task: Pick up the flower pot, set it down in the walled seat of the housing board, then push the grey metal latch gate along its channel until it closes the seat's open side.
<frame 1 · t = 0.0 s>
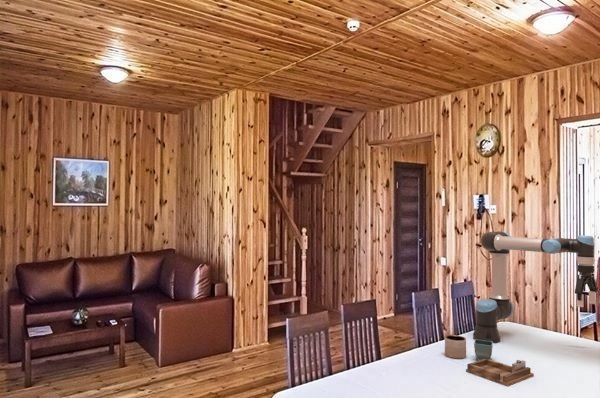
hand: (586, 305, 232), 28 cm above the table, fingers open, 13 cm apart
planter: (455, 356, 234), on the table
flower pot: (483, 360, 228), on the table
housing: (499, 373, 208), on the table
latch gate: (518, 367, 205), point 4 cm above the table, slide at 8.5 cm
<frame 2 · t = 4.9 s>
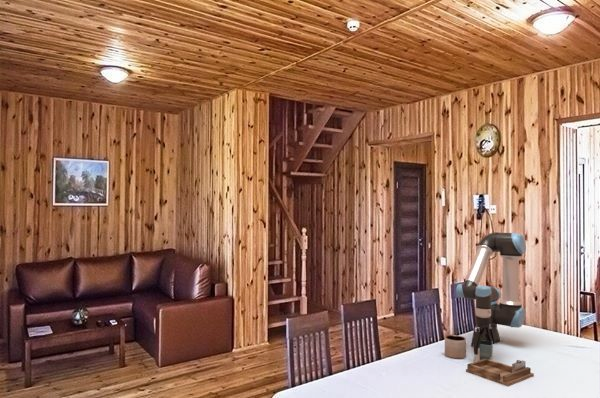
hand: (483, 358, 228), 1 cm above the table, fingers closed on flower pot, 11 cm apart
flower pot: (483, 360, 228), on the table, touching gripper
everything else where it was.
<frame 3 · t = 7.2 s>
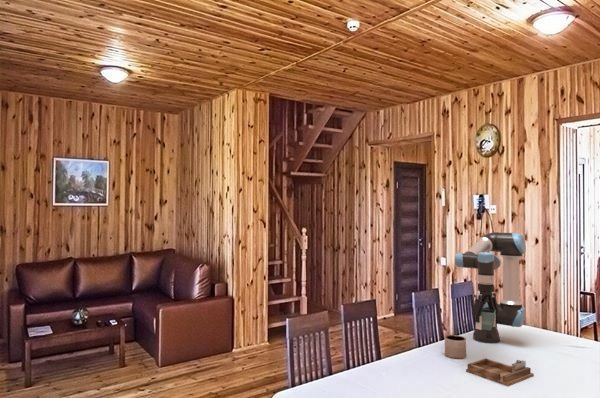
hand: (485, 327, 219), 19 cm above the table, fingers closed on flower pot, 11 cm apart
flower pot: (485, 329, 219), point 18 cm above the table, touching gripper
everything else where it was.
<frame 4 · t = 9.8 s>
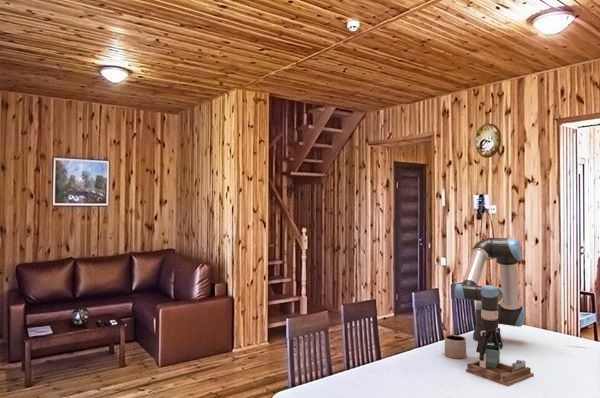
hand: (489, 364, 209), 4 cm above the table, fingers closed on flower pot, 11 cm apart
flower pot: (489, 366, 209), point 3 cm above the table, touching gripper
everything else where it was.
when the fingers open (4 cm above the table, at t = 9.9 s): flower pot drops 2 cm, resting on housing.
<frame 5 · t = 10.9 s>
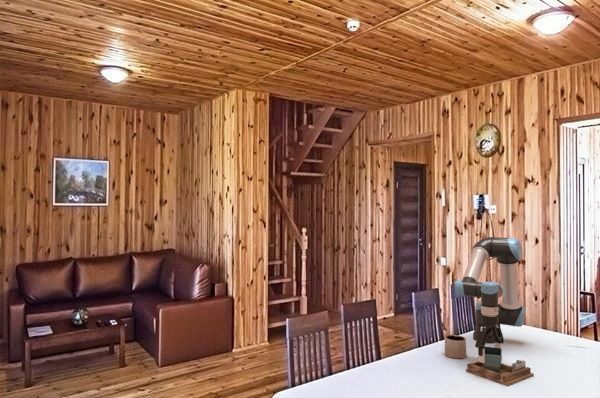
hand: (490, 359, 209), 6 cm above the table, fingers open, 13 cm apart
flower pot: (492, 369, 210), point 2 cm above the table, touching housing
everything else where it was.
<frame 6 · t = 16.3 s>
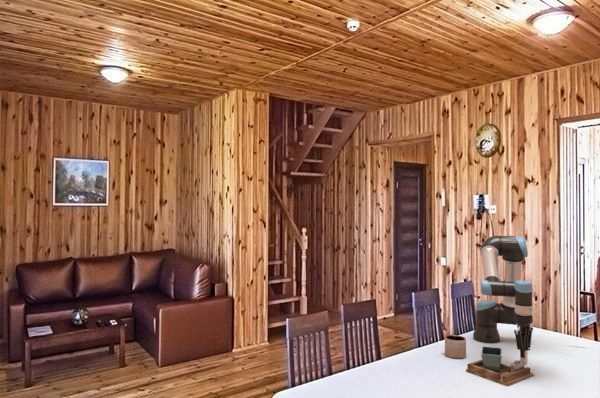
hand: (523, 364, 207), 5 cm above the table, fingers closed
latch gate: (517, 367, 204), point 4 cm above the table, slide at 7.5 cm, touching gripper
everything else where it was.
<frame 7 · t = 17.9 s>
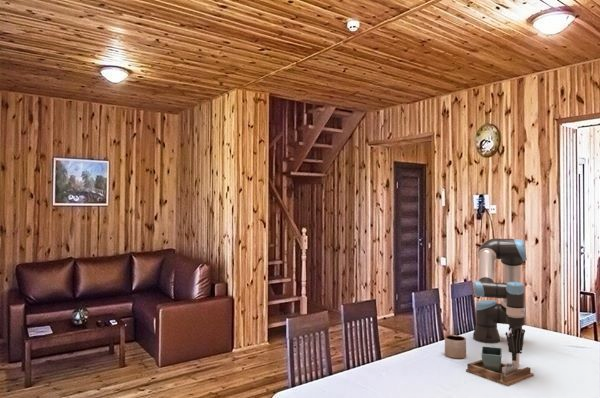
hand: (515, 367, 203), 5 cm above the table, fingers closed
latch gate: (509, 370, 200), point 4 cm above the table, slide at 0.4 cm, touching gripper
everything else where it was.
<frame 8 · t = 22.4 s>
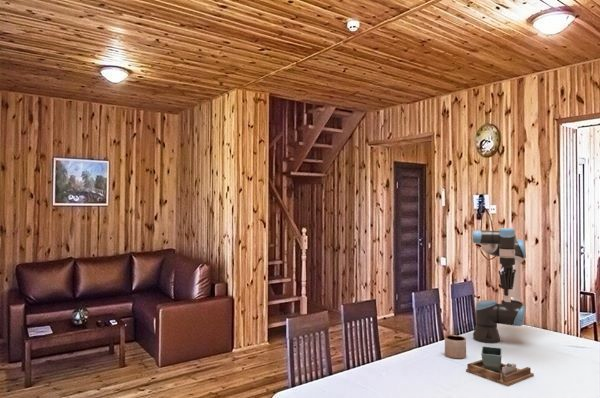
hand: (507, 301, 233), 29 cm above the table, fingers closed
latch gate: (509, 370, 200), point 4 cm above the table, slide at 0.4 cm
everything else where it was.
at the end: flower pot inside the target area on the housing (2.2 cm from its centre), point 1.5 cm above the housing's base; flower pot tilted 8°; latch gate slide at 0.4 cm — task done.
